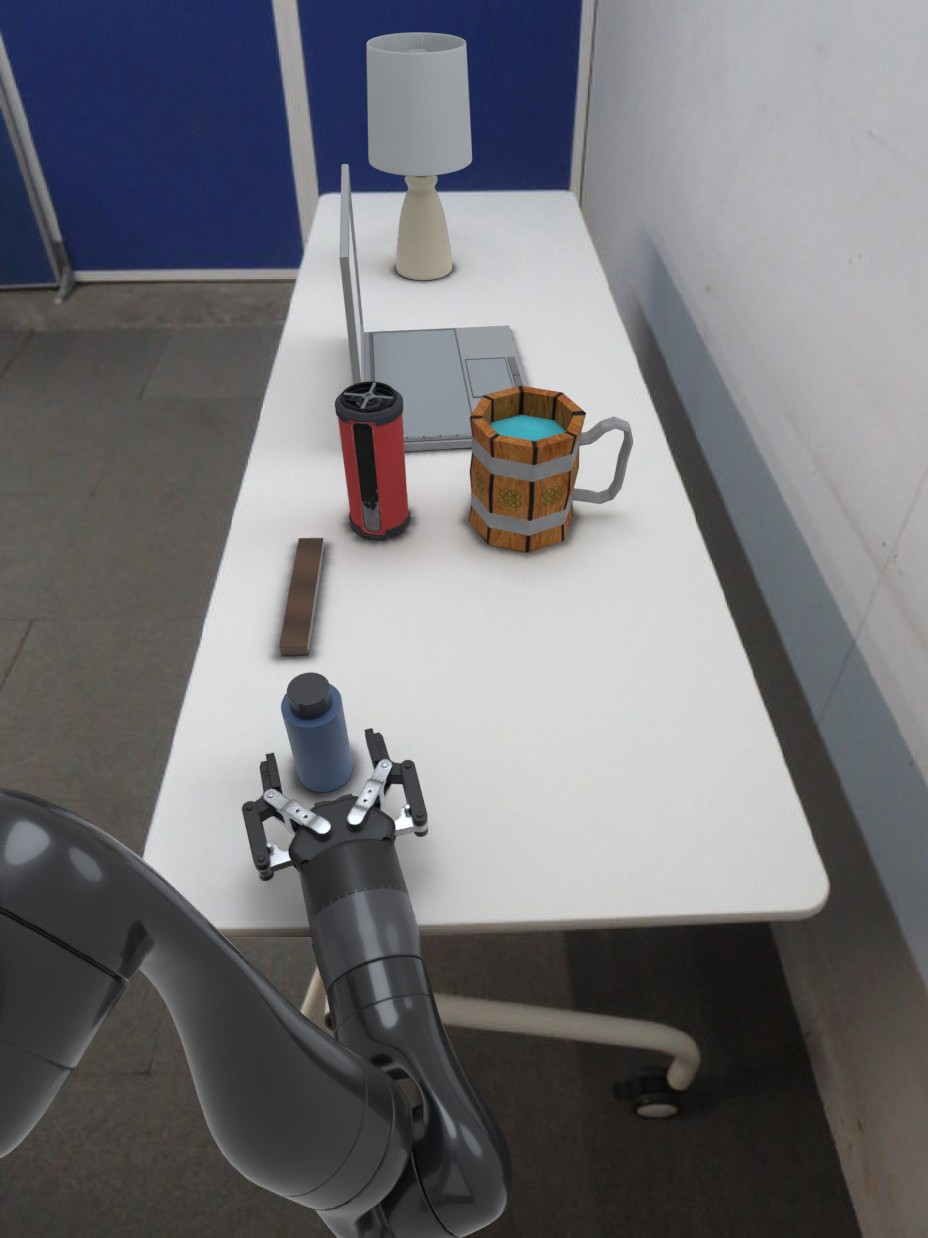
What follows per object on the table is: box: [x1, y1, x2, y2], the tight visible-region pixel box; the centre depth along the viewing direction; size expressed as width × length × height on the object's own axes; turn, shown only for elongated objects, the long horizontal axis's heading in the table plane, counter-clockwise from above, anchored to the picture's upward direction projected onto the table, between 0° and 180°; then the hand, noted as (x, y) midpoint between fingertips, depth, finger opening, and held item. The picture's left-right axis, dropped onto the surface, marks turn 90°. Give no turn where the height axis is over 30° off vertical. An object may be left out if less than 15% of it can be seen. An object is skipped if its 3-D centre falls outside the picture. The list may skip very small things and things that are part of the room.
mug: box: [468, 386, 634, 553], centre depth 98 cm, size 20×14×15 cm
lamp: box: [366, 32, 473, 281], centre depth 145 cm, size 19×19×37 cm
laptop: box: [339, 163, 529, 452], centre depth 116 cm, size 35×26×27 cm
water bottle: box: [280, 671, 354, 793], centre depth 72 cm, size 5×5×12 cm
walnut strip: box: [278, 537, 326, 656], centre depth 92 cm, size 18×3×2 cm, turn 2°
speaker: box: [334, 381, 411, 539], centre depth 96 cm, size 8×8×18 cm
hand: (320, 746), depth 69 cm, fingers open, 8 cm apart
